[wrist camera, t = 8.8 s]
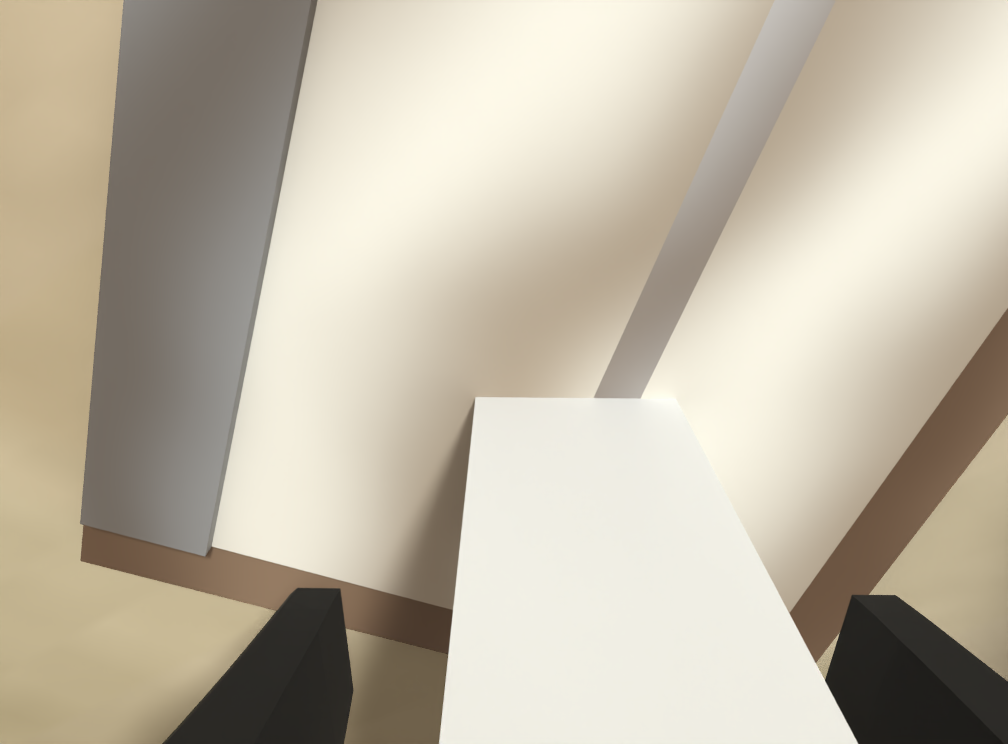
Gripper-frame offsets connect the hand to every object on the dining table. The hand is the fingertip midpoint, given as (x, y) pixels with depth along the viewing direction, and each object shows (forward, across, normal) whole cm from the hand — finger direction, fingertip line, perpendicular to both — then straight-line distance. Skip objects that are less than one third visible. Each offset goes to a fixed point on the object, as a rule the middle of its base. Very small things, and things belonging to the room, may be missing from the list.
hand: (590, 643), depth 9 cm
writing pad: (+4, 0, -4) cm, 6 cm away
